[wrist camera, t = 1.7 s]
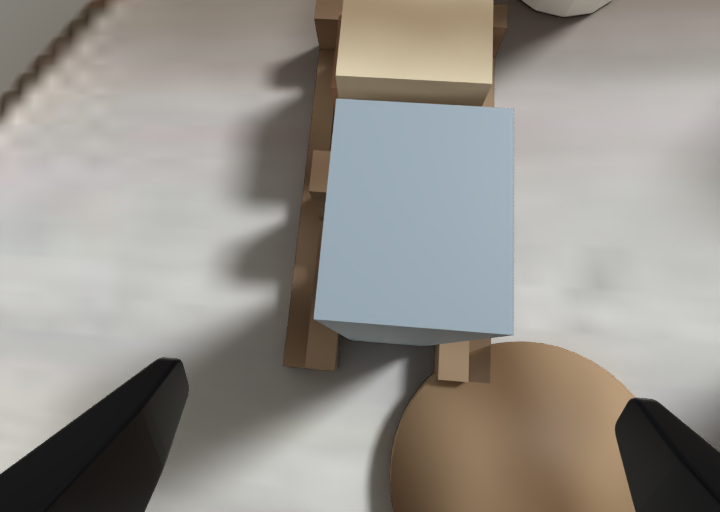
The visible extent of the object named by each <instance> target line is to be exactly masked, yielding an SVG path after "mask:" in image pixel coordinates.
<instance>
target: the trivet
mask: <svg viewBox="0 0 720 512" xmlns="http://www.w3.org/2000/svg"><path fill="white" fill-rule="evenodd" d="M490 347H491V349H490ZM483 348H484V349H483ZM483 348H480V349H477V350H474V351H471V352H470V353H469V355H470V357H471V358H470V357H469V364H470V367H469V368H471V370H472V367H474V366H475V365H476V363H475V361H474V360H475V359H476V361H477V365H480V366H478V367H482V366H481V365H482V364H483V363H484V362H485V361H486V362H487V361H488V360H485V361H484V358H485V357H486V356H487V353H489V351H490V353H489V356H488V357H490V358H488V357H486V358H487V359H489V360H490V359H491V360H490V362H491V363H490V362H489V363H490V364H491V365H490V364H489V363H488V362H487V363H488V364H489V369H490V371H488V370H487V369H488V368H487V367H488V366H486V364H487V363H486V362H485V363H486V364H485V363H484V364H485V366H486V368H487V369H486V368H485V369H484V370H487V371H486V372H487V373H488V372H489V373H490V374H489V375H490V376H489V377H490V378H489V377H488V376H487V375H486V374H487V373H486V372H485V371H484V370H483V369H480V370H481V371H482V370H483V371H482V372H485V373H486V374H485V373H484V374H485V375H486V376H487V377H488V379H486V380H487V381H488V380H489V382H488V383H484V382H483V383H481V381H480V382H479V383H478V381H477V380H478V378H479V379H481V380H482V378H481V377H477V380H476V377H474V379H475V380H474V382H473V379H472V377H473V376H474V375H475V376H476V375H477V374H474V373H477V372H476V371H477V370H479V369H477V370H476V369H475V368H473V370H472V371H474V372H473V374H474V375H473V374H472V375H471V374H470V373H472V371H471V370H470V369H469V372H470V371H471V372H470V373H469V376H471V378H470V377H468V381H469V382H460V381H448V380H438V379H436V376H437V374H435V373H432V374H431V375H430V376H429V377H428V378H427V379H426V380H425V381H424V383H423V384H422V385H421V386H420V387H419V389H418V390H417V391H416V392H415V394H414V395H413V397H412V399H411V400H410V402H409V403H408V405H407V407H406V409H405V411H404V413H403V415H402V417H401V420H400V422H399V425H398V428H397V431H396V434H395V438H394V442H393V448H392V453H391V463H390V487H391V498H392V505H393V510H394V512H635V508H634V505H633V501H632V497H631V494H630V490H629V486H628V482H627V478H626V474H625V471H624V467H623V463H622V459H621V455H620V451H619V447H618V444H617V440H616V436H615V424H616V421H617V420H618V418H619V416H620V414H621V413H622V411H623V409H624V407H625V406H626V404H627V402H628V401H629V400H630V399H632V398H636V397H635V396H634V395H633V394H632V393H631V392H630V391H629V390H628V389H627V388H626V387H625V386H624V385H623V384H622V383H621V382H620V381H619V380H617V379H616V378H615V377H614V376H613V375H611V374H610V373H609V372H608V371H606V370H605V369H603V368H602V367H600V366H599V365H597V364H596V363H594V362H593V361H591V360H589V359H587V358H585V357H583V356H581V355H579V354H577V353H574V352H571V351H569V350H566V349H563V348H560V347H557V346H552V345H547V344H543V343H534V342H504V343H496V344H491V345H489V346H488V347H483ZM488 348H489V349H488ZM487 349H488V350H487ZM485 350H486V351H487V353H486V351H485ZM475 351H476V352H478V353H476V352H475ZM483 351H484V352H483ZM474 352H475V353H476V354H477V355H478V358H480V359H481V358H483V357H484V358H483V359H482V361H484V362H483V363H482V364H478V361H479V360H477V356H476V355H474V354H475V353H474ZM481 352H483V353H484V354H485V353H486V354H485V355H486V356H485V355H483V353H481ZM473 353H474V354H473ZM479 353H481V354H479ZM474 356H475V357H474ZM480 356H482V357H480ZM474 358H475V359H474ZM486 358H485V359H486ZM470 359H471V360H470ZM471 362H472V367H471ZM479 363H480V362H479ZM488 364H487V365H488ZM477 365H476V367H477ZM490 366H491V367H490ZM483 367H484V366H483ZM474 369H475V370H474ZM480 370H479V371H478V372H479V373H480V372H481V371H480ZM479 375H480V374H479ZM479 375H478V376H479ZM481 376H482V374H481ZM483 377H484V376H483ZM469 378H470V379H471V380H472V382H470V381H471V380H470V379H469ZM485 378H486V377H485ZM483 379H484V378H483ZM484 380H485V379H484ZM484 380H483V381H484ZM486 380H485V381H486Z"/></svg>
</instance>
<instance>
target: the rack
mask: <svg viewBox="0 0 720 512" xmlns="http://www.w3.org/2000/svg"><path fill="white" fill-rule="evenodd" d="M342 10H343V0H317V1H316V9H315V17H314V19H315V25H316V31H317V37H318V43H319V48H320V50H319V59H318V68H317V76H316V85H315V94H314V102H313V111H312V119H311V128H310V137H309V145H308V154H307V163H306V171H305V180H304V189H303V197H302V206H301V214H300V223H299V232H298V240H297V249H296V258H295V266H294V275H293V284H292V292H291V301H290V310H289V318H288V327H287V335H286V344H285V353H284V361H283V366H289V367H300V368H306V369H317V370H329V371H335V370H337V365H338V353H339V342H340V334H339V333H337V332H335V331H333V330H332V329H330V328H328V327H326V326H325V325H323V324H321V323H319V322H318V321H316V320H314V310H315V300H316V290H317V281H318V271H319V261H320V252H321V242H322V232H323V222H324V213H325V203H326V193H327V184H328V174H329V164H330V154H331V145H332V135H333V125H334V115H335V109H334V103H333V97H332V90H331V84H332V75H333V65H334V56H335V47H336V37H337V28H338V18H339V12H341V13H342ZM506 29H507V5H503V4H493V62H492V85H491V88H490V90H489V92H488V94H487V97H486V99H485V101H484V103H483V106H482V107H494V69H495V56H496V54H497V51H498V49H499V46H500V44H501V41H502V39H503V37H504V34H505V32H506ZM489 345H491V338H486V339H478V340H469V341H461V342H453V343H445V344H437V345H434V367H433V373H435V374H437V376H436V379H438V380H448V381H460V382H469V381H468V377H470V378H471V376H469V373H470V372H471V371H472V370H473V368H475V369H476V370H477V369H479V370H480V369H483V370H484V369H485V368H486V366H488V367H487V368H488V369H487V368H486V369H487V370H488V371H490V369H489V364H490V363H491V362H490V360H491V359H490V360H489V359H487V358H486V357H488V356H489V353H490V351H489V353H487V351H486V350H485V351H486V353H487V356H486V355H485V354H486V353H485V354H484V353H483V352H484V351H483V352H481V353H483V355H485V356H486V357H485V358H486V359H485V358H484V357H483V358H484V361H485V360H488V361H487V362H488V363H489V362H490V363H489V364H488V363H487V362H486V361H485V362H486V363H487V364H488V365H487V364H486V363H485V362H484V361H482V359H483V358H481V359H480V358H478V355H477V354H476V353H478V352H476V351H475V352H476V353H475V352H474V353H475V354H474V353H473V354H474V355H476V356H477V360H479V361H478V364H482V363H483V362H484V363H485V364H486V366H485V364H484V363H483V364H482V365H481V366H482V367H478V366H480V365H477V361H476V359H475V358H474V359H475V360H474V361H475V363H476V365H477V367H476V365H475V366H474V367H472V362H471V367H472V370H471V368H469V367H470V364H469V357H470V355H469V353H470V352H471V351H474V350H477V349H480V348H483V347H488V346H489ZM483 349H484V348H483ZM488 349H489V348H488ZM488 349H487V350H488ZM490 349H491V347H490ZM481 353H479V354H481ZM474 357H475V356H474ZM480 357H482V356H480ZM470 358H471V357H470ZM488 358H490V357H488ZM470 360H471V359H470ZM479 362H480V363H479ZM490 365H491V364H490ZM483 366H484V367H483ZM490 367H491V366H490ZM469 369H470V370H471V371H470V372H469ZM475 369H474V370H475ZM479 370H477V371H476V372H477V373H474V374H477V375H476V376H475V375H474V374H473V372H474V371H472V373H470V374H471V375H472V374H473V375H474V376H473V377H472V379H473V382H474V380H475V379H474V377H476V380H477V377H481V378H482V380H481V379H479V378H478V380H477V381H478V383H479V382H480V381H481V383H483V382H484V383H488V382H489V380H488V381H487V380H486V379H488V377H489V376H490V375H489V374H490V373H489V372H488V373H487V372H486V371H487V370H484V371H485V372H486V373H487V374H486V373H485V372H482V371H483V370H482V371H481V370H480V371H481V372H480V373H479V372H478V371H479ZM484 373H485V374H486V375H487V376H488V377H487V376H486V375H485V374H484ZM479 374H480V375H479ZM481 374H482V376H481ZM478 375H479V376H478ZM483 376H484V377H483ZM485 377H486V378H485ZM470 378H469V379H470ZM483 378H484V379H485V380H486V381H485V380H484V379H483ZM489 378H490V377H489ZM470 380H471V379H470ZM483 380H484V381H483ZM470 382H472V380H471V381H470Z"/></svg>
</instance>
